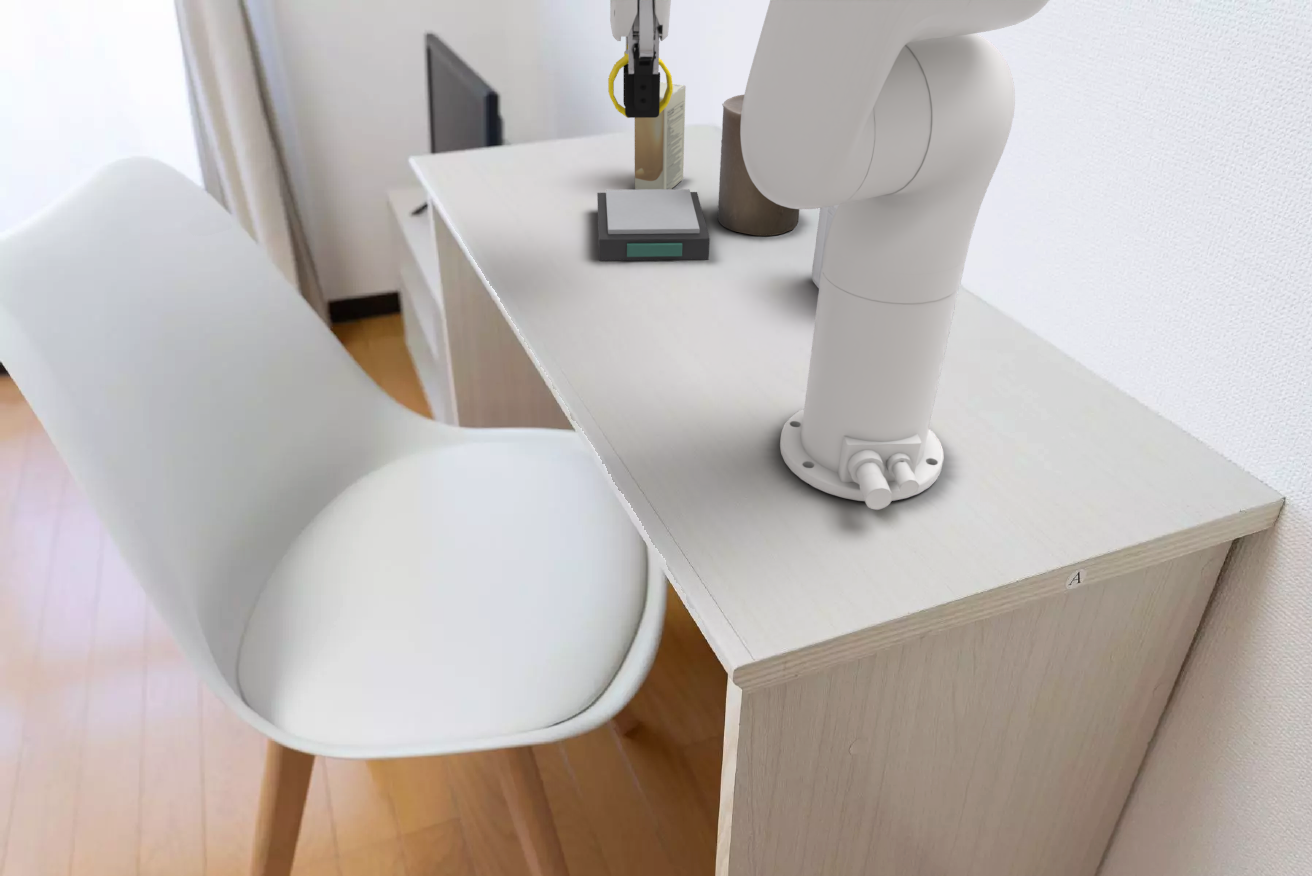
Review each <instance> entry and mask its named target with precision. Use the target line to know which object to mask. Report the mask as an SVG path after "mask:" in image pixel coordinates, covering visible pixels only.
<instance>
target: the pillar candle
mask: <svg viewBox="0 0 1312 876" xmlns="http://www.w3.org/2000/svg"><path fill="white" fill-rule="evenodd" d="M743 100H744V94H739V95H735V96H732V97H729V98H727V99H725V101H724V102H723V103H721V105H722V123H721V124H722V125H721V127H722V130H721V140H720V142H721V143H720V145H721V146H720V163H719V165H720V167H719V184H718V185H719V186H718V201H717V202H718V203H717V204H718V205H717V220H718V222H719V224H720V225H721V226H723V227H724V228H726V229H727V230H730V231H733V232H735V233H736V232H737V233H741V234H746V235H752V236H759V237H760V236H765V237H767V236H775V235H781V234H785V233H787V232H789V231H792V230H795V228H796V227H797V225H798V224H799V218H800V209H792V208H788V207H784V206H781V205H778V204H776V203H774V202H773V201H771V200H769V199H768V198H766V197H765V196H764V195H763V194H762V193H761V192H760V191H759V190H758V189H757V187H756V186H755V185H754V183H753V182H752V180H751V178H750V176H749V174H748V172H747V169H746V166H745V162H744V159H743V154H742V148H741V135H740V128H741V113H742V106H743Z"/></svg>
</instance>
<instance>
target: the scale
mask: <svg viewBox="0 0 1312 876" xmlns="http://www.w3.org/2000/svg"><path fill="white" fill-rule="evenodd" d="M596 193H597V194H596V195H597V230H598V233H597V234H598V258H599V259H598V260H599V261H600V262H601V261H602V262H603V261H605V262H606V261H607V262H608V261H688V260H689V261H693V260H695V261H697V260H700V261H701V260H709V259H710V240H711V239H710V235H709V231H708V227H707V223H706V220H705V215H704V213H703V209H702V204H701V202H700V197H699V194H698V192H697V191H691V190H690V188H685V189H684V188H677V189H676V188H672V189H644V190H637V189H605V192H596Z"/></svg>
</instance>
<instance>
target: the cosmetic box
mask: <svg viewBox="0 0 1312 876" xmlns="http://www.w3.org/2000/svg"><path fill="white" fill-rule="evenodd" d="M672 84H673V92H672V95H671V98H670V101H669V104H667V106H666V107H665V108H664V110H663V111H662V112H661V113H660V114H659V116H658V117H656V118H634V190H644V189H674V187H675V186H677V185H678V184H680V182H682V181H683V180H684V167H685V166H684V164H685V163H684V161H685V158H684V157H685V126H686V125H685V124H686V122H685V121H686V119H685V118H686V88H687V87H686V85H684V84H677V83H672ZM666 88H667V82H664V81H660V101H661V100H662V99H663V97H664V94H665V91H666Z"/></svg>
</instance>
